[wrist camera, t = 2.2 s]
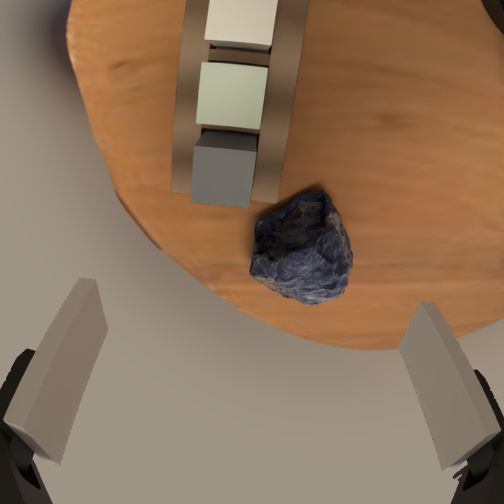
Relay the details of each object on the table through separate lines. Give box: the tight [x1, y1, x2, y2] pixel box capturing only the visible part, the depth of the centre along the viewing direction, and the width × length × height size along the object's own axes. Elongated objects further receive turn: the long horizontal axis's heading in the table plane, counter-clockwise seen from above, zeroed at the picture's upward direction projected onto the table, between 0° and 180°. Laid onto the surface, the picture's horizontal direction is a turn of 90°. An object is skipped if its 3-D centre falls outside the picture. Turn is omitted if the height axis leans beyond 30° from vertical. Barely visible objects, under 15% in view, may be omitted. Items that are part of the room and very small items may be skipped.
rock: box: [249, 191, 353, 305], centre depth 32 cm, size 11×10×10 cm
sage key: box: [196, 62, 268, 130], centre depth 21 cm, size 4×4×6 cm
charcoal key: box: [191, 129, 257, 208], centre depth 23 cm, size 4×4×6 cm
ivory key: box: [205, 0, 278, 51], centre depth 18 cm, size 4×4×6 cm
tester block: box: [171, 0, 309, 203], centre depth 24 cm, size 18×9×5 cm, turn 173°
